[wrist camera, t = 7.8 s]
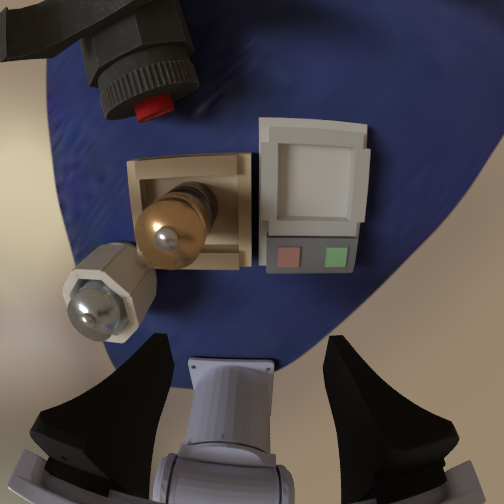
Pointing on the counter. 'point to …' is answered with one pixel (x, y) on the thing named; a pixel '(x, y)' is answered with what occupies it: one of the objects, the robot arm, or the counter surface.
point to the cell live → (176, 225)
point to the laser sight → (111, 49)
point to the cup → (117, 282)
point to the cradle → (311, 194)
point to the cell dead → (96, 310)
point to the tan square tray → (224, 188)
